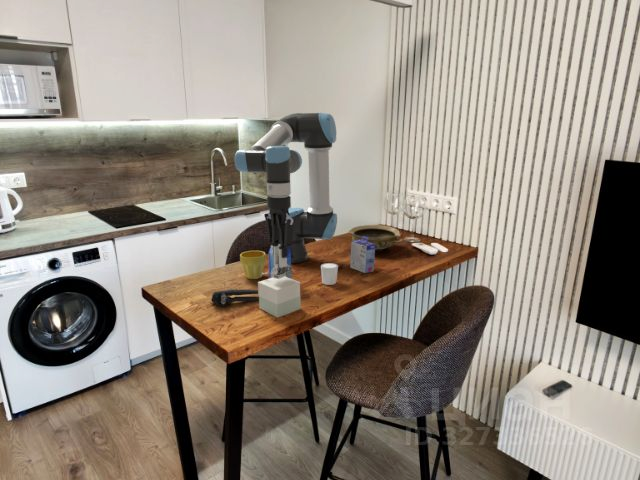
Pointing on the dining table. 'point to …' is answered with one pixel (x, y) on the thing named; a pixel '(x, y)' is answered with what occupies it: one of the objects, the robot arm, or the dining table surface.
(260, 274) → the plant pot
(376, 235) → the ceramic bowl
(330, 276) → the white gray-rimmed cylinder
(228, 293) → the can opener
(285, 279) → the tower top block
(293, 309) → the tower bottom block
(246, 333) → the dining table surface
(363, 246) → the ink cartridge box
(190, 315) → the dining table surface
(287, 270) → the house of cards
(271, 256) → the beer can
